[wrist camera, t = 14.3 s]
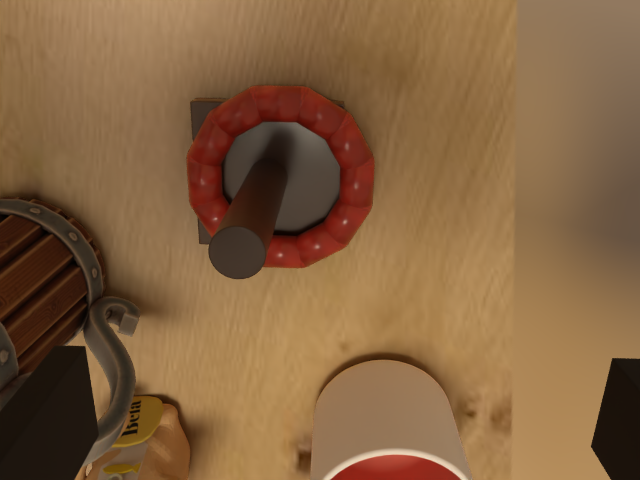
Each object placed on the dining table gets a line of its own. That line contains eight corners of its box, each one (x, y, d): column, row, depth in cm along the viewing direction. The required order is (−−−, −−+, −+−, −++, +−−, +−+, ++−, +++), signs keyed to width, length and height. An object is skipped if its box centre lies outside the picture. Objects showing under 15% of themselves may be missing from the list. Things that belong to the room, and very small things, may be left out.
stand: (203, 236, 38) (139, 344, 25) (195, 97, 34) (116, 142, 22) (339, 239, 38) (342, 350, 25) (343, 100, 34) (350, 147, 22)
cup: (391, 482, 45) (405, 603, 36) (287, 419, 43) (275, 530, 34) (476, 398, 42) (517, 507, 33) (369, 326, 40) (380, 420, 31)
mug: (-58, 301, 40) (-268, 453, 26) (-29, 166, 36) (-255, 258, 22) (154, 378, 42) (65, 558, 28) (201, 258, 38) (126, 395, 24)
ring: (197, 257, 37) (190, 270, 35) (186, 82, 33) (177, 85, 31) (368, 262, 37) (370, 275, 35) (377, 85, 33) (379, 89, 31)
